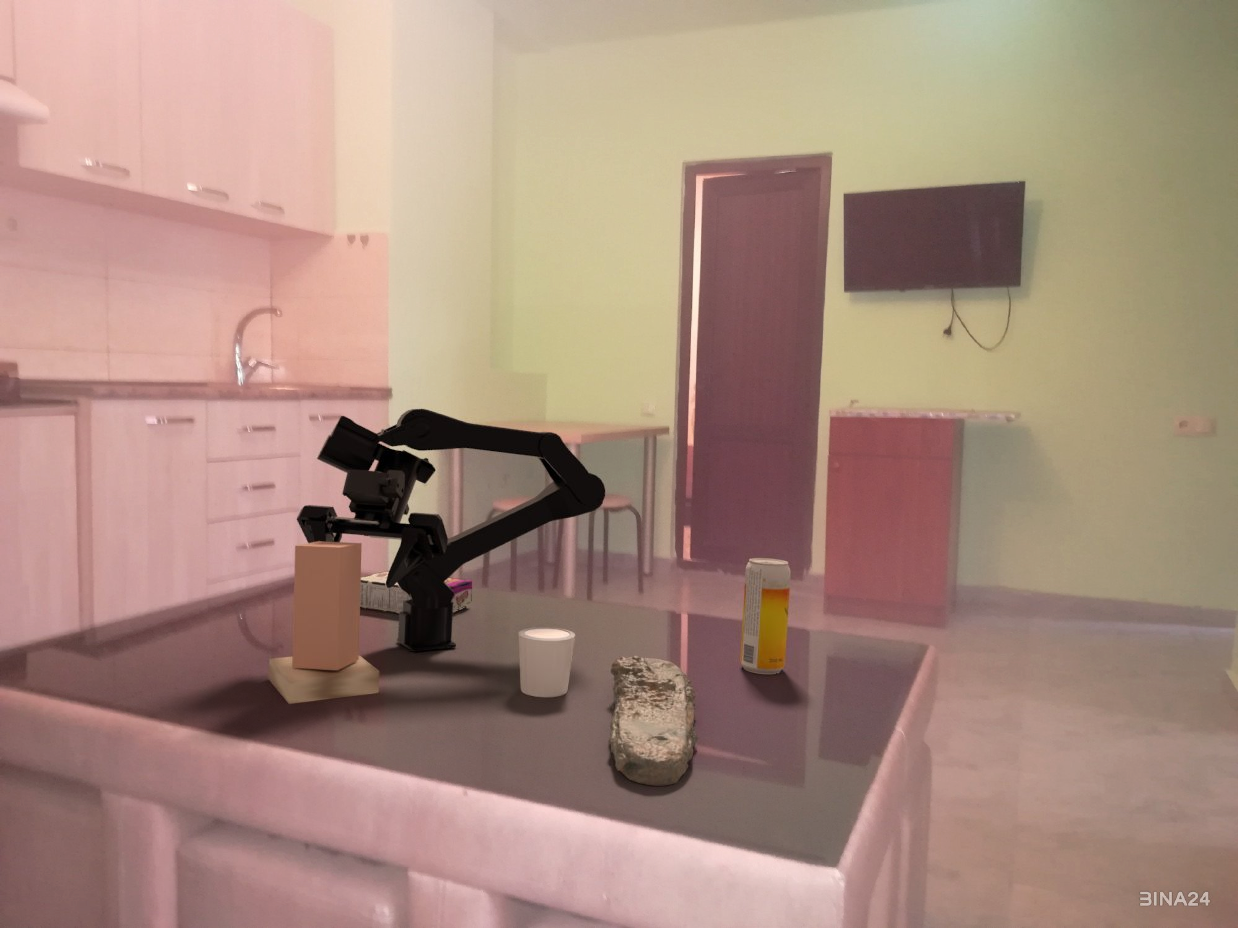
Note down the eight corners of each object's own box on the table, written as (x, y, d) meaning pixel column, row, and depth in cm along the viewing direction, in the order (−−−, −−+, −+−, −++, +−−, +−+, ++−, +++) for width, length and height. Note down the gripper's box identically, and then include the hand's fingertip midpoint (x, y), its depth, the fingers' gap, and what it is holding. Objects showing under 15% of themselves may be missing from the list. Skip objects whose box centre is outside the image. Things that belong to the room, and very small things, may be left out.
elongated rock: (592, 799, 80) (701, 813, 80) (598, 743, 80) (708, 757, 79) (612, 672, 115) (688, 681, 115) (616, 633, 114) (693, 641, 114)
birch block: (352, 674, 111) (353, 650, 111) (378, 696, 103) (379, 671, 102) (268, 683, 105) (269, 658, 105) (288, 708, 97) (289, 681, 97)
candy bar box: (472, 608, 151) (392, 596, 157) (473, 579, 150) (393, 568, 156) (434, 621, 140) (350, 607, 146) (436, 590, 140) (352, 577, 146)
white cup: (528, 701, 102) (531, 641, 102) (507, 684, 108) (510, 627, 108) (582, 695, 106) (585, 637, 105) (558, 679, 112) (561, 624, 111)
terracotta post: (315, 657, 107) (318, 541, 107) (358, 659, 106) (361, 543, 106) (292, 667, 102) (295, 545, 101) (337, 670, 101) (340, 547, 101)
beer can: (792, 670, 122) (799, 562, 121) (768, 678, 117) (775, 565, 117) (756, 660, 126) (762, 556, 125) (730, 667, 122) (737, 559, 121)
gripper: (306, 443, 115) (258, 537, 105) (445, 452, 113) (410, 548, 103) (330, 498, 124) (288, 591, 113) (460, 508, 121) (429, 603, 111)
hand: (352, 583), depth 110 cm, fingers open, 9 cm apart
